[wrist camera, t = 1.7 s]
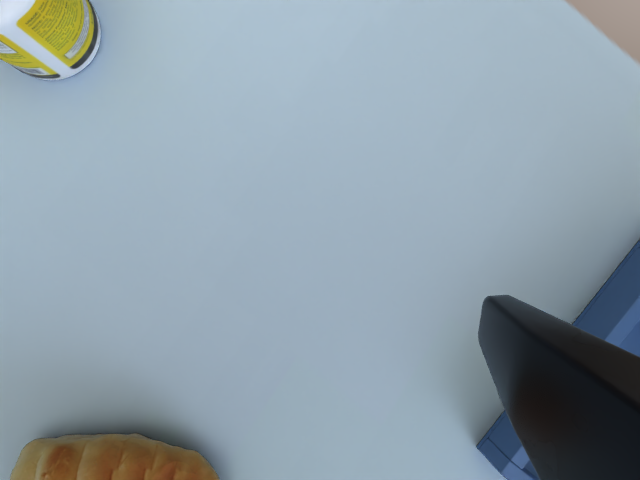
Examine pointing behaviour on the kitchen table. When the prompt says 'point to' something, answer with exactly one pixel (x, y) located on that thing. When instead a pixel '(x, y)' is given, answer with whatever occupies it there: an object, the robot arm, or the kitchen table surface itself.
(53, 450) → the pastry
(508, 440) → the tray
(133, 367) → the kitchen table surface
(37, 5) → the supplement bottle
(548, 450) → the robot arm
